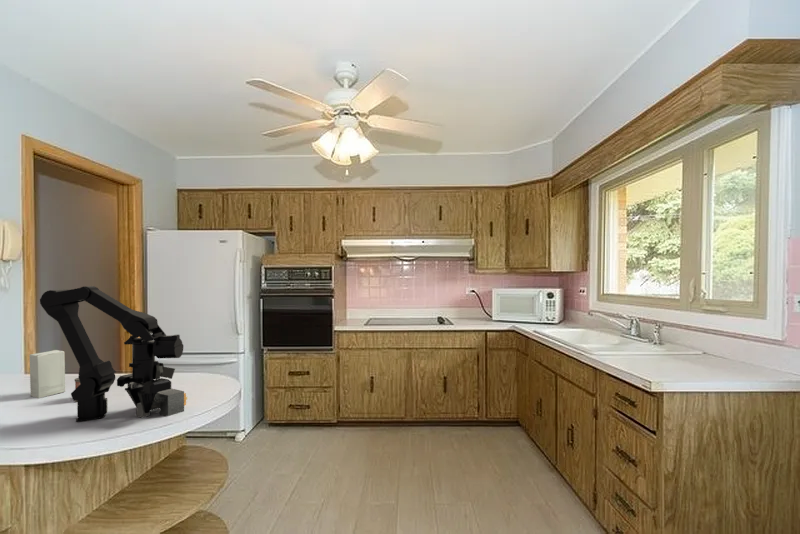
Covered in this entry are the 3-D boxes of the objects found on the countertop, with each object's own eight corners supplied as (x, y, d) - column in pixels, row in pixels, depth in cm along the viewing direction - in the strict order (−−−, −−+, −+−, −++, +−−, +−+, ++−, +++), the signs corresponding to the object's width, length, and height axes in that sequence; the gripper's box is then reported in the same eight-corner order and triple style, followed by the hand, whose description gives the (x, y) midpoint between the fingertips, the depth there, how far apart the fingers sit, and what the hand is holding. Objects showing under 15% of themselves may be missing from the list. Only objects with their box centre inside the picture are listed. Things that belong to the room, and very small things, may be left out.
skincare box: (57, 390, 153) (57, 349, 153) (66, 392, 150) (66, 350, 150) (28, 396, 145) (28, 353, 145) (37, 398, 142) (37, 354, 142)
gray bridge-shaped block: (168, 416, 123) (167, 395, 123) (141, 408, 130) (141, 389, 130) (184, 411, 127) (184, 391, 127) (157, 404, 134) (157, 385, 134)
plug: (142, 417, 122) (142, 405, 122) (136, 415, 123) (136, 403, 123) (188, 404, 134) (188, 392, 134) (182, 402, 136) (182, 391, 136)
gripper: (188, 356, 126) (188, 409, 126) (153, 351, 136) (153, 400, 135) (150, 363, 117) (151, 420, 116) (115, 357, 126) (116, 410, 126)
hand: (143, 411), depth 124 cm, fingers closed on plug, 3 cm apart
